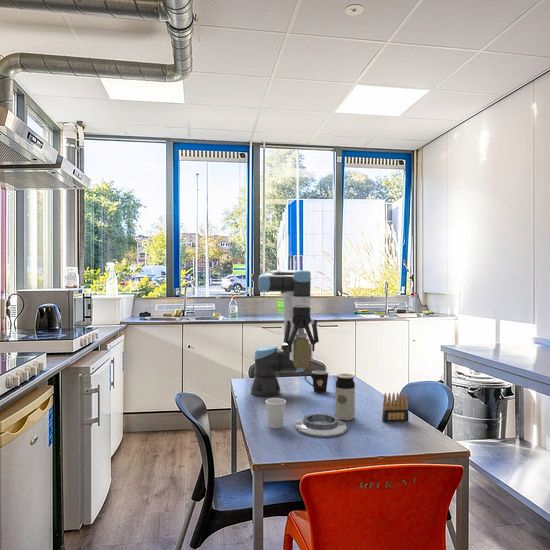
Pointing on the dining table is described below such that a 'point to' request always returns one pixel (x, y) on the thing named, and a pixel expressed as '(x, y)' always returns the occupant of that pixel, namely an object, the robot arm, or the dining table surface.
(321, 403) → the dining table surface
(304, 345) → the squeeze bottle
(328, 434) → the rosette plate
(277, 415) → the dixie cup
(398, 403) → the ammunition clip
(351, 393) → the travel mug
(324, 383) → the coffee mug
